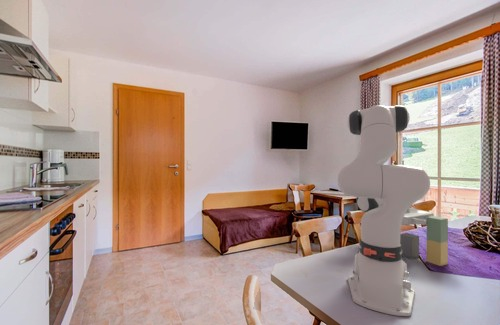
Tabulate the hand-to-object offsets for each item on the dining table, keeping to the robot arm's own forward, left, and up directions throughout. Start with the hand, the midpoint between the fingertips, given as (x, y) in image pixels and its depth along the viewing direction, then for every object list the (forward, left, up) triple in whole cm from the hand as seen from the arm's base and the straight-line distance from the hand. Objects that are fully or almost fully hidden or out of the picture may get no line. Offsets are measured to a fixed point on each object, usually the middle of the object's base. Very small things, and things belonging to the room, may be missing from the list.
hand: (433, 221), depth 98 cm
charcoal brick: (+2, +8, -16) cm, 18 cm away
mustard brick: (-1, -1, -16) cm, 16 cm away
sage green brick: (-1, -1, -7) cm, 7 cm away
